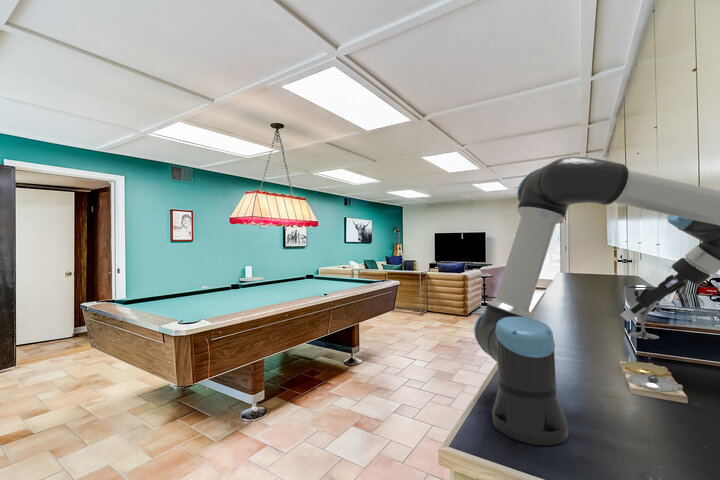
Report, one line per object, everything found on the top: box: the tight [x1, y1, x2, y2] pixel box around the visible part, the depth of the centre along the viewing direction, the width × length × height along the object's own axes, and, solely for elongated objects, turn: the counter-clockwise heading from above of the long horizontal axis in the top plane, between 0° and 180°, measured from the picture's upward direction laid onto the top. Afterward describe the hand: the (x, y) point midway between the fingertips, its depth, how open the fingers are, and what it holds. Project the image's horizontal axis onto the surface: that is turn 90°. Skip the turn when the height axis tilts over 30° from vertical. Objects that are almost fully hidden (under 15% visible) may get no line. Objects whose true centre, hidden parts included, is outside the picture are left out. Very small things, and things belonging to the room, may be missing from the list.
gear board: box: [619, 360, 689, 404], centre depth 94 cm, size 24×12×4 cm, turn 147°
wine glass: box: [623, 285, 660, 340], centre depth 100 cm, size 8×8×15 cm
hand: (628, 316), depth 102 cm, fingers closed on wine glass, 7 cm apart
